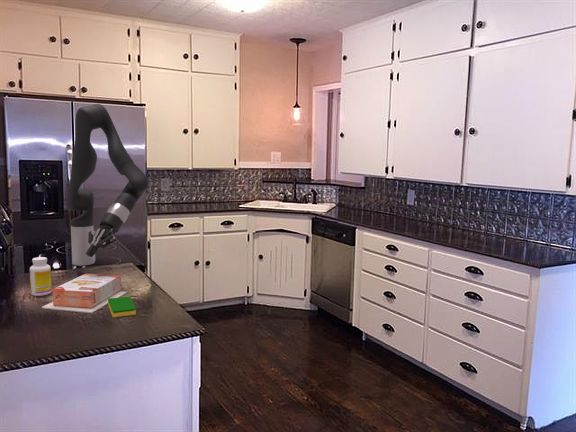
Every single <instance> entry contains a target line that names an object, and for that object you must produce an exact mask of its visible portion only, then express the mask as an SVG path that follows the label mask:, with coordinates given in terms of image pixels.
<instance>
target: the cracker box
mask: <svg viewBox="0 0 576 432" xmlns="http://www.w3.org/2000/svg"><path fill="white" fill-rule="evenodd" d="M121 290H122V275H119V274H99V273H84V274H82V275H80V276H78V277H76V278H73V279H71V280H69V281H67V282H65V283H63V284H61V285H58V286H57V287H54V288H52V292H51V293H52V302H53V305H56V306H72V307H89V308H92V307H94V306H96V305H97V304H99V303H100V302H102V301H104V300H105V299H107V298H108V297H110V296H112V295H113V294H115V293H117V292H118V291H121Z"/></svg>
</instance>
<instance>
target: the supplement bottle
mask: <svg viewBox="0 0 576 432" xmlns="http://www.w3.org/2000/svg"><path fill="white" fill-rule="evenodd" d="M31 262H32V265H31V266H30V267H29V280H30V281H29V282H30V283H29V284H30V285H29V286H30V294H31V296H36V297H42V296H43V297H44V296H46V295H50V294H51V293H52V289H53V287H52V270H51V266H50V265H49V264H48V258H47V257H44V256H39V257H38V256H37V257H33V258H32V260H31Z"/></svg>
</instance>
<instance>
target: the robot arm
mask: <svg viewBox="0 0 576 432" xmlns="http://www.w3.org/2000/svg"><path fill="white" fill-rule="evenodd" d="M74 122H75V124H74V125H75V126H74V127H75V130H74V131H75V133H74V136H75V137H74V146H73V147H74V148H73V151H72V159H71V169H70V177H69V183H68V186H67V191H66V197H65V205H66V209H68V210H69V211H71V212H72V211H74V212H75V211H83V212H82V214H80V215H79V216H76V217H73V218H72V219H71V220H70V235H71V237H70V238H71V244H70V245H71V264H72V265H73V266H80V267H81V266H83V267H84V266H89V265H90V266H91V265H93V264H95V262H96V253H97V251H99V250H100V249H105V248H106V247H108V246H109V245H111V244H113V243H114V242H115V241H116V240H117V237H115V235H116V234H117V233H119V231H120V230H121V228H122V226H123V225H124V224H125V223H126V221H127V219H128V218H129V215H130V214H131V212H132V211H133V209H134V207H135V206H136V203H137V202H138V201H139V200H140V198H141V196H142V195H143V194H144V193H145V191H146V190H147V189H148V188H149V186H150V185H149V184H150V182H149V178H148V177H147V175H146V174H145V173H144V172H143V170H141V168H140V167H138V166H137V164H136V163H135V162H134V160H133V158H132V157H131V156H130V154H129V153H128V151H127V150H126V148H125V146H124V144H123V142H122V140H121V138H120V136H119V134H118V131H117V128H116V126H115V125H114V122H113V120H112V118H111V116H110V113H109V112H108V111H107V109H106V107H105V106H104V105H103V104H100V103H94V104H89V105H85V106H81V107H79V108H77V111H76V112H75V120H74ZM97 129H101V130H102V132H103V133H104V134H105V137H106V140H107V153H108V157H109V159H110V161H111V163H112V164H113V166H114V168H115V169H116V170H117V173H119V174H120V175H121V176H125V178H126V179H127V180H128V181H127V184H126V185H125V186H124V188H123V190H122V191H121V193H120V194H119V195H118V196H117V198H116V199H115V200H114V202H113V203H112V204H111V205H110V206H109V208H107V210H106V212H105V213H104V214H103V216H102V217H101V219H100V220H99V226H98V227H97V228H95V231H94V207H95V206H94V205H95V203H94V202H95V201H94V200H95V199H94V197H95V196H94V193H93V191H92V190H91V189H90V188H89V189H87V188H85V189H80V187H81V186H82V185H83V184H84V183H85V182H86V181H87V180H88V179H89V178H90V177H91V176H92V175H93V173H94V172H95V170H96V167H97V163H98V162H97V161H98V154H97V151H96V150H95V148H94V146H93V145H92V143H91V135H92V131H94V130H97Z"/></svg>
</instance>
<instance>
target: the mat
mask: <svg viewBox="0 0 576 432" xmlns="http://www.w3.org/2000/svg"><path fill="white" fill-rule="evenodd" d="M127 293H128V292H127V291H121V290H120V291H118V292H117V293H115V294H113V295H112V296H110V297H108V298H107V299H105V300H104V301H102V302H100V303H99V304H97V305H96V306H94V307H92V308H89V307H72V306H56V305H53V301H51V302H49V303H47V304H45V305H43V306H41V309H45V310H46V309H47V310H56V311H67V312H76V313H86V314H87V313H88V314H93V313H95V312H96V311H98V310H100V309H102V308H103V307H106V306H107V305H108V299H110V298H119V297H124V295H126V294H127Z"/></svg>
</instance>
